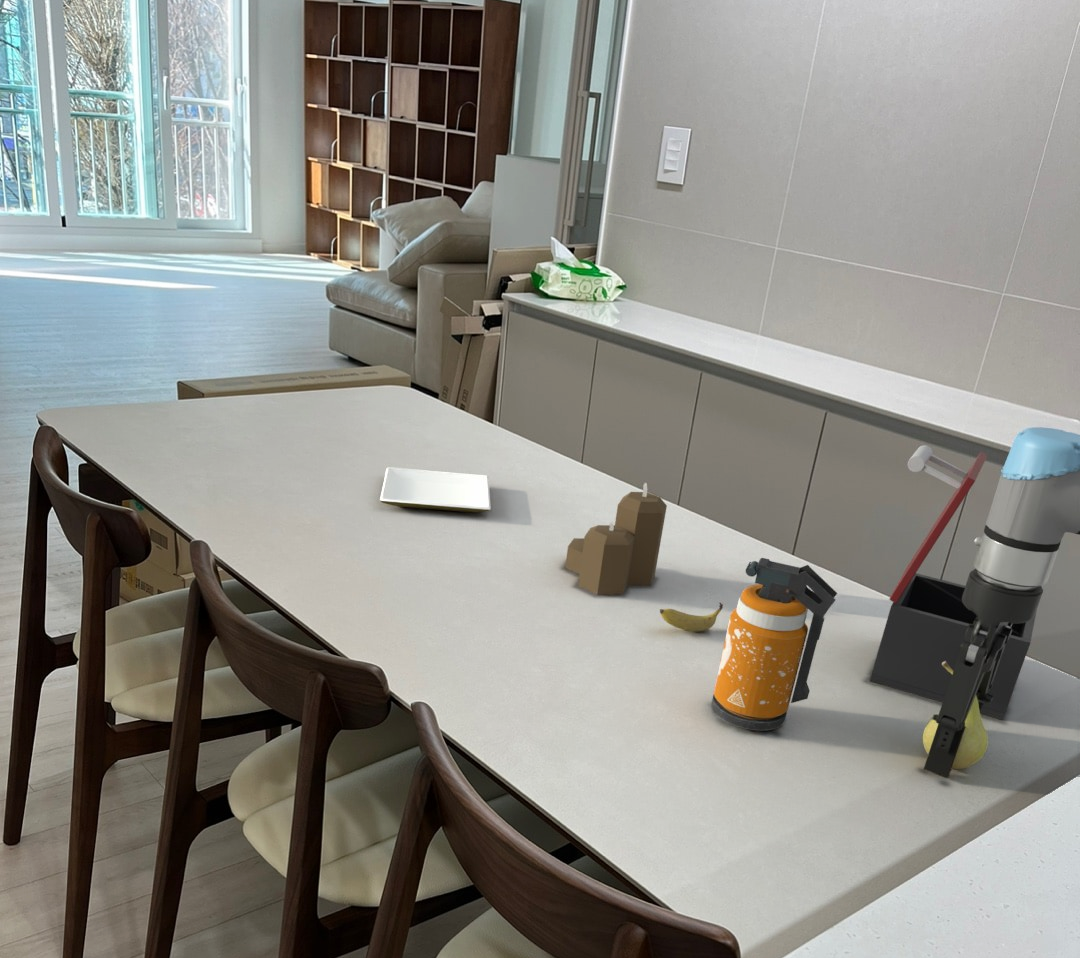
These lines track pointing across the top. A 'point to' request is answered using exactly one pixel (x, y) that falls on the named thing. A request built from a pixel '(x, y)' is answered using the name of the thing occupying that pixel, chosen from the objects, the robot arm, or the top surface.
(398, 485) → the plate
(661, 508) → the candle
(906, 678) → the dark grey open box
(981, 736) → the fruit
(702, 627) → the banana
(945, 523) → the lid
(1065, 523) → the robot arm
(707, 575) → the top surface
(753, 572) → the canister
